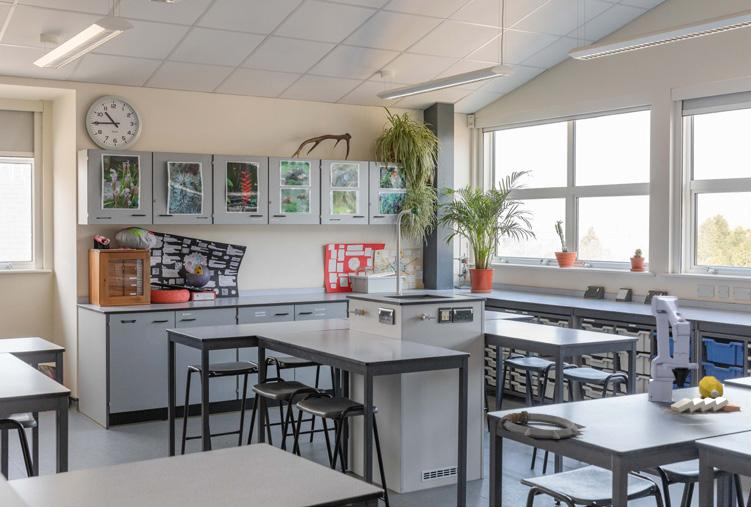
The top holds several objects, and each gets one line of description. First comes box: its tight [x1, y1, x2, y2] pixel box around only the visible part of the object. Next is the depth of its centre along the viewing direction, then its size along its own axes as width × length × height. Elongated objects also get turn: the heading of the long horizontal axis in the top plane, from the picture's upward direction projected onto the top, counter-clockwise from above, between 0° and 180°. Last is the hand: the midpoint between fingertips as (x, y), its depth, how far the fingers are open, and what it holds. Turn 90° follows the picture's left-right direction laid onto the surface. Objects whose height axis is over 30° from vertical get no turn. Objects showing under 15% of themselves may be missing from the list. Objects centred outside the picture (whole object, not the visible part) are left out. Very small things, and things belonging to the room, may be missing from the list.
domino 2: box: [686, 397, 706, 412], centre depth 329 cm, size 2×5×7 cm
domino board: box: [660, 408, 731, 415], centre depth 329 cm, size 26×8×1 cm, turn 104°
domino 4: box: [708, 396, 730, 411], centre depth 331 cm, size 2×5×7 cm
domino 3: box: [696, 397, 717, 412], centre depth 330 cm, size 2×5×7 cm
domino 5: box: [720, 403, 741, 412], centre depth 333 cm, size 2×5×7 cm
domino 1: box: [670, 397, 694, 413], centre depth 328 cm, size 2×5×7 cm
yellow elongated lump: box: [698, 376, 724, 399], centre depth 357 cm, size 10×30×10 cm, turn 165°
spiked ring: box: [498, 410, 587, 440], centre depth 291 cm, size 33×5×30 cm
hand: (680, 387), depth 328 cm, fingers closed
